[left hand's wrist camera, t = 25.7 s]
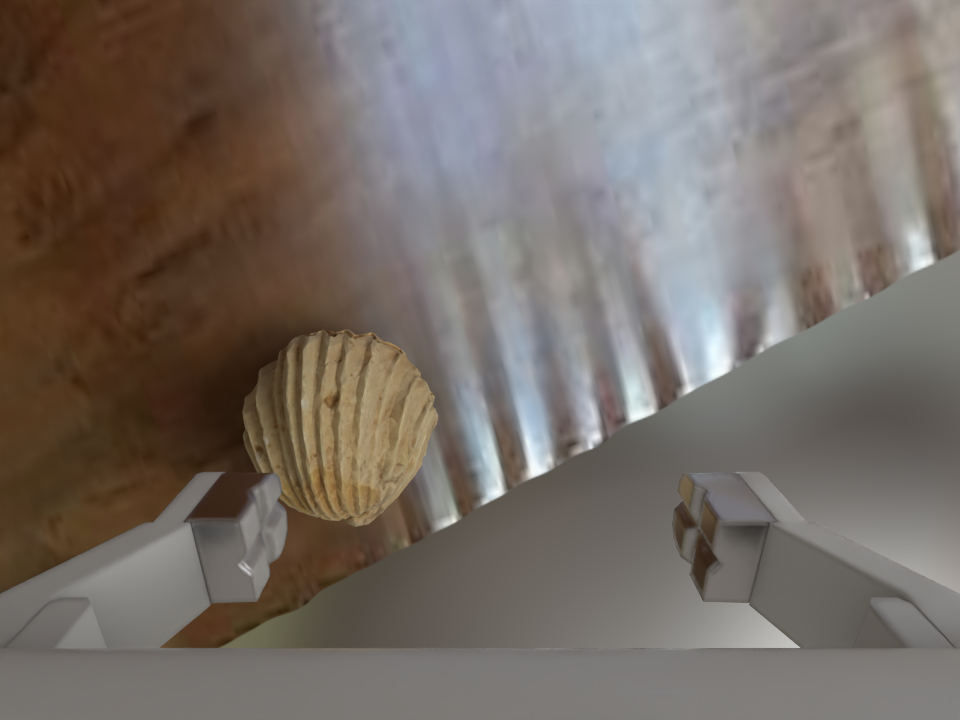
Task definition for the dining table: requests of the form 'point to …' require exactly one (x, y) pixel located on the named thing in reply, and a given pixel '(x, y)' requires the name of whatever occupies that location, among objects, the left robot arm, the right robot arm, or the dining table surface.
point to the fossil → (339, 424)
